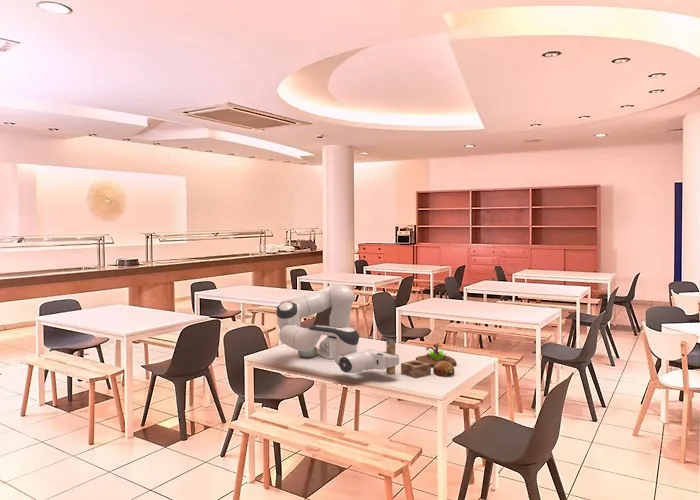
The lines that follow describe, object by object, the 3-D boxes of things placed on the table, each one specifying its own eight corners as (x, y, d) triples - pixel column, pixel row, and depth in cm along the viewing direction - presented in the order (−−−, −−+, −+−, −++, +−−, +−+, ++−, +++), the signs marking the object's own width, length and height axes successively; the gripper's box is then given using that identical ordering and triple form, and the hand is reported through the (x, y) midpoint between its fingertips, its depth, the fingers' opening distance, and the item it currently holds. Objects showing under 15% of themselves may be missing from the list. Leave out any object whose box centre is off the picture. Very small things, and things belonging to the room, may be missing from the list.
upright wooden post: (386, 373, 248) (386, 340, 248) (390, 372, 250) (391, 339, 250) (390, 374, 246) (390, 341, 245) (395, 373, 248) (395, 340, 247)
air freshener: (310, 359, 274) (310, 341, 274) (296, 358, 277) (296, 339, 276) (318, 355, 284) (318, 337, 284) (304, 353, 287) (304, 335, 287)
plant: (426, 370, 256) (426, 347, 256) (411, 360, 275) (411, 339, 275) (462, 367, 262) (463, 345, 261) (445, 358, 281) (446, 337, 280)
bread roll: (452, 379, 252) (451, 363, 255) (457, 376, 242) (455, 358, 246) (432, 379, 251) (431, 363, 255) (436, 376, 242) (435, 359, 245)
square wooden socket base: (401, 373, 248) (401, 363, 248) (415, 370, 255) (415, 360, 255) (416, 378, 241) (416, 367, 241) (430, 374, 247) (430, 364, 247)
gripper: (356, 361, 248) (377, 357, 257) (385, 370, 232) (407, 365, 241) (356, 348, 247) (377, 344, 256) (385, 356, 232) (407, 352, 241)
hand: (392, 354), depth 248 cm, fingers open, 6 cm apart
